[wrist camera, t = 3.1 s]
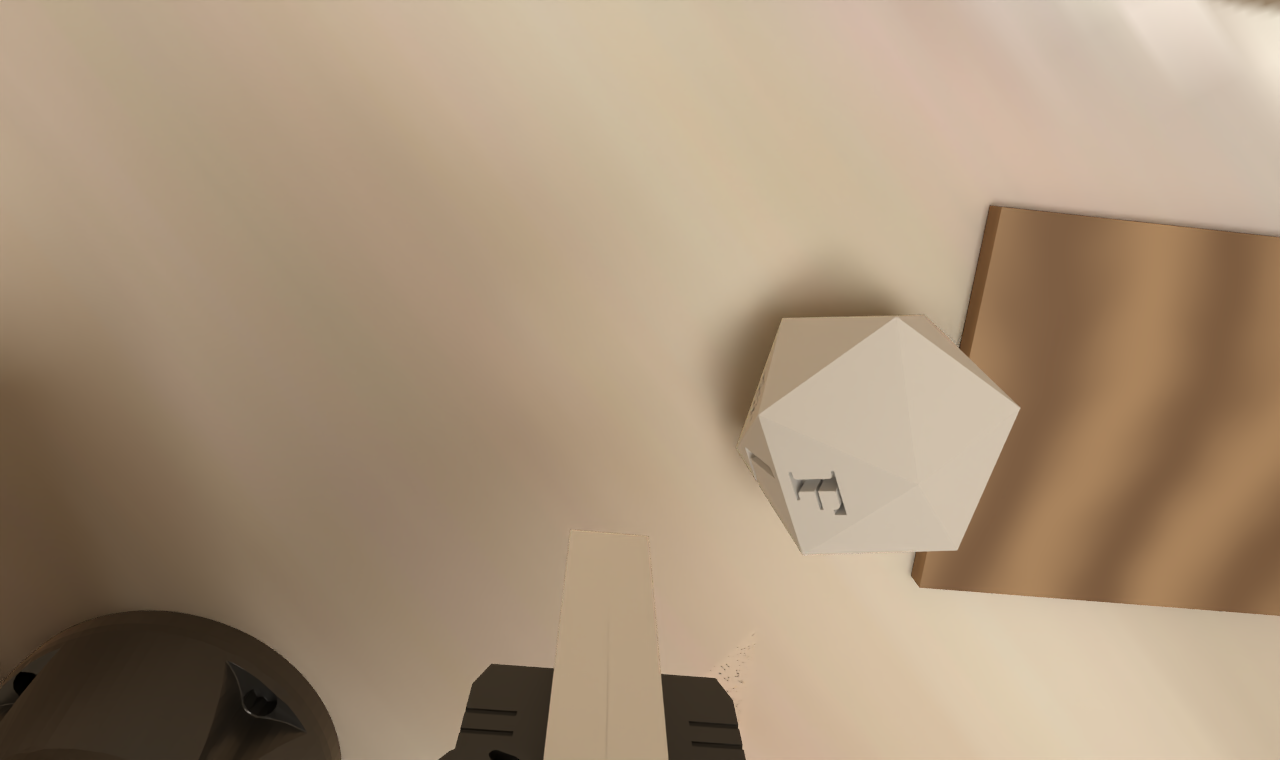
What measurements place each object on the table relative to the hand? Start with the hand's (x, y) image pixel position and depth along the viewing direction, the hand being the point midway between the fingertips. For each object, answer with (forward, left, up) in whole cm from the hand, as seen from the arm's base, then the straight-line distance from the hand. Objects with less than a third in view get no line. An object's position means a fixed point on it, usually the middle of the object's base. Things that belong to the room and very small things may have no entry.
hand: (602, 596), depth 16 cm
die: (+9, 0, -18) cm, 20 cm away
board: (+23, 0, -18) cm, 29 cm away
